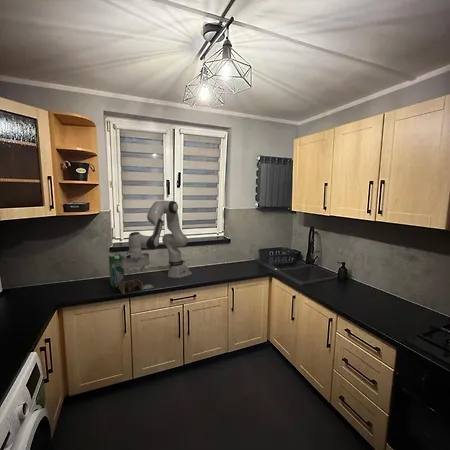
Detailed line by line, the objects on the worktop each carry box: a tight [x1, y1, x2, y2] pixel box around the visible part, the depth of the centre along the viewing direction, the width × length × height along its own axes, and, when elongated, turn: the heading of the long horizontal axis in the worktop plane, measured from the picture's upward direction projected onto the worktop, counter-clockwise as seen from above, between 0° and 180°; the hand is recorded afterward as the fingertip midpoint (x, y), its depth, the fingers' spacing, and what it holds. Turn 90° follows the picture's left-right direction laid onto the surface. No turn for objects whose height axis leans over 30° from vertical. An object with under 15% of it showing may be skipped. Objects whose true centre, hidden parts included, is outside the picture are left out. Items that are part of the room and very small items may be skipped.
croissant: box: [118, 278, 144, 295], centre depth 201 cm, size 15×12×6 cm
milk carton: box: [108, 253, 126, 288], centre depth 210 cm, size 9×9×25 cm
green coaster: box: [143, 283, 155, 290], centre depth 206 cm, size 8×8×1 cm
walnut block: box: [126, 280, 136, 292], centre depth 201 cm, size 5×5×6 cm
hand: (135, 272), depth 188 cm, fingers open, 8 cm apart
